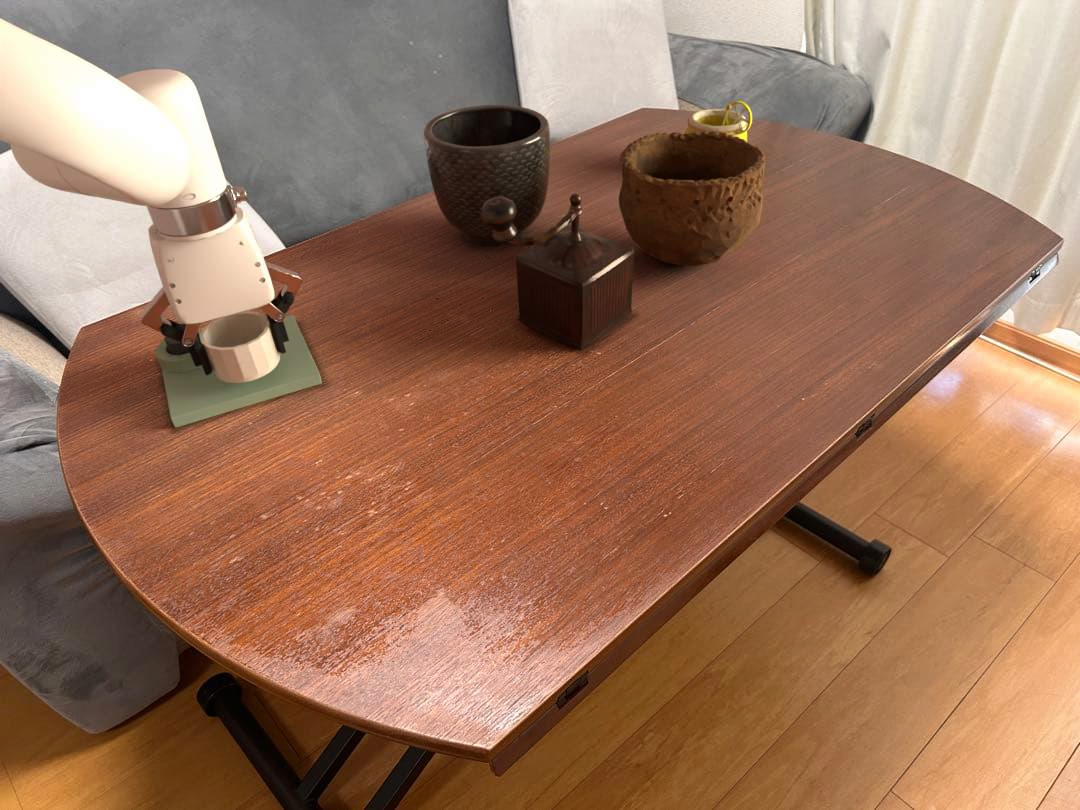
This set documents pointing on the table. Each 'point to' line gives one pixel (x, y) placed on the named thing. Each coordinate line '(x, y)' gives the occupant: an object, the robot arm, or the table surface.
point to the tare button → (176, 347)
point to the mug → (721, 121)
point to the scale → (210, 396)
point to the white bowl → (240, 347)
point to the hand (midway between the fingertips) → (244, 356)
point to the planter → (488, 165)
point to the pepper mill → (566, 276)
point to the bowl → (691, 194)
